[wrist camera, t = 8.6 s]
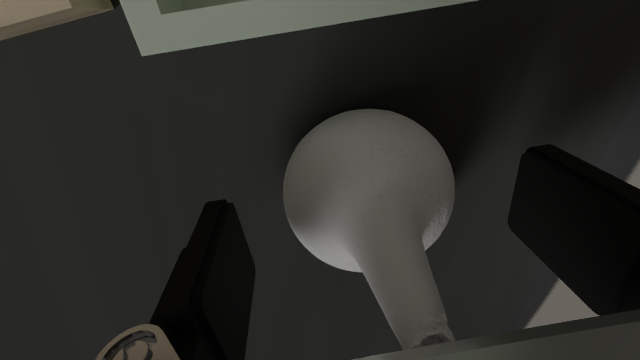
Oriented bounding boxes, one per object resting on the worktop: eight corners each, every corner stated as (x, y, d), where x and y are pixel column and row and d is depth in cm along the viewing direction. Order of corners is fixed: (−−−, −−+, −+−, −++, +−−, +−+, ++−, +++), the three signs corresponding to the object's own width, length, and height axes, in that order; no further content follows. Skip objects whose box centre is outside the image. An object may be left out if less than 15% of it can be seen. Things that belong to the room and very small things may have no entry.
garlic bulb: (451, 126, 13) (688, 231, 5) (394, 249, 15) (507, 443, 7) (305, 82, 11) (352, 140, 4) (267, 224, 13) (251, 434, 6)
